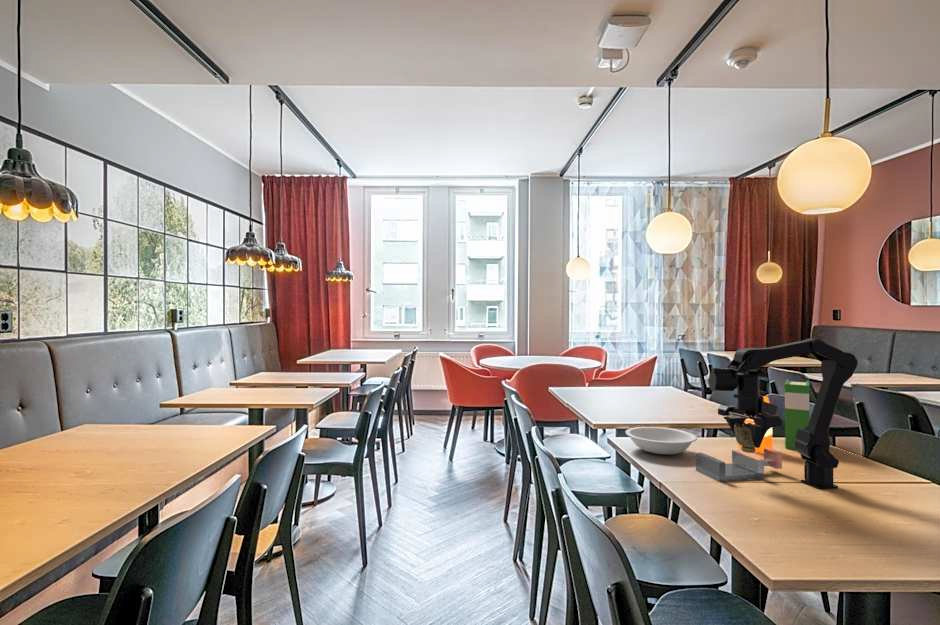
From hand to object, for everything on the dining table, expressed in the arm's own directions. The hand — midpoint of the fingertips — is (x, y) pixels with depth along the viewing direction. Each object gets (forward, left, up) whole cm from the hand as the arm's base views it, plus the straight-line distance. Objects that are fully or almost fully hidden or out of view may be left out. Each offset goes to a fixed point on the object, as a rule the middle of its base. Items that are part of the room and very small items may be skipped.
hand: (748, 444), depth 140 cm
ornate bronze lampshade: (0, 0, -2) cm, 2 cm away
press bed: (+8, 0, -11) cm, 14 cm away
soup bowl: (+34, +7, -11) cm, 37 cm away
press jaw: (+8, -11, -9) cm, 16 cm away
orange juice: (+32, -30, -11) cm, 45 cm away
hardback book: (+35, -51, -11) cm, 63 cm away
